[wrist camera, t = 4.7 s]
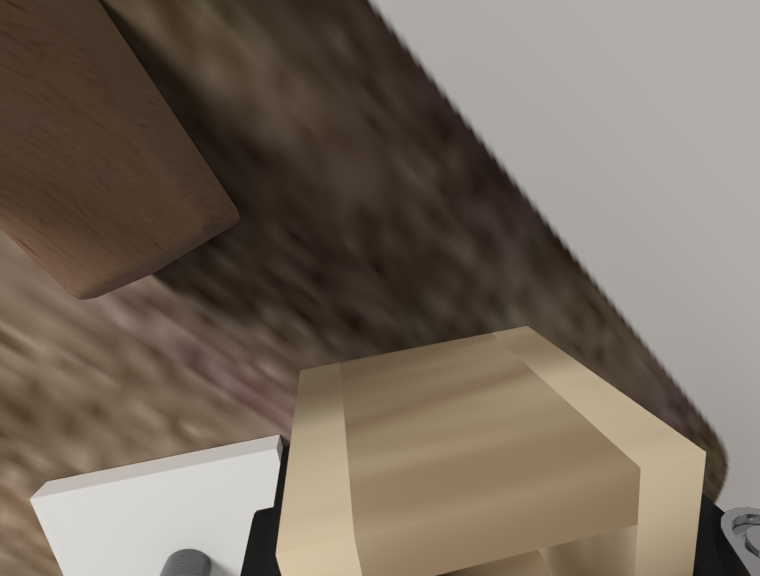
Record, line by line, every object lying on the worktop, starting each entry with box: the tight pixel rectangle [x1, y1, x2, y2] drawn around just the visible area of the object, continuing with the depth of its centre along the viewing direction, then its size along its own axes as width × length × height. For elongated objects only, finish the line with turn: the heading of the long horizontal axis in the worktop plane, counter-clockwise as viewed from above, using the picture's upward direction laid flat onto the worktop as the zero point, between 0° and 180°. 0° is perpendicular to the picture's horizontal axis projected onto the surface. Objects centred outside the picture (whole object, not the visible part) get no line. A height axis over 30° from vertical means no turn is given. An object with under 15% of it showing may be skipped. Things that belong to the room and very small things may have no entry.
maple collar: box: [276, 326, 706, 576], centre depth 8 cm, size 6×6×5 cm
